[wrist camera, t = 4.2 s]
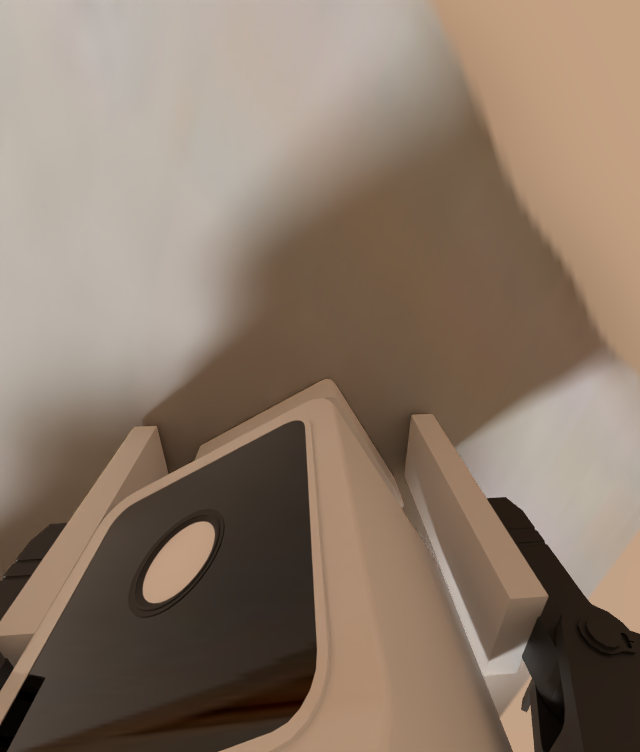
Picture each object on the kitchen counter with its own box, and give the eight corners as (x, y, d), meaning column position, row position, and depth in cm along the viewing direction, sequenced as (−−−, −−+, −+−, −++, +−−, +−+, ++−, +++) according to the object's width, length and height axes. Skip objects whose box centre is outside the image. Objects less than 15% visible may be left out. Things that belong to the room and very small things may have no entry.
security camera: (318, 331, 11) (413, 812, 2) (407, 478, 14) (600, 949, 5) (157, 422, 13) (-190, 995, 4) (269, 542, 15) (237, 1029, 6)
